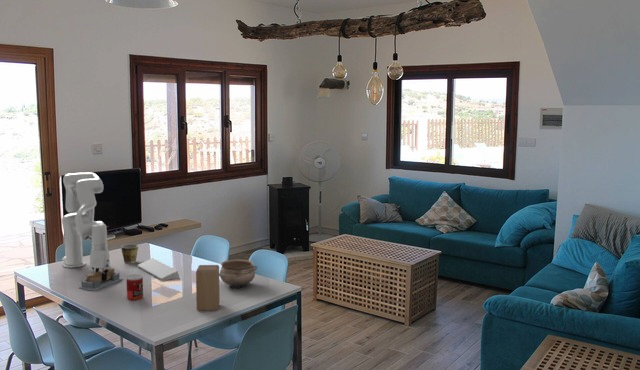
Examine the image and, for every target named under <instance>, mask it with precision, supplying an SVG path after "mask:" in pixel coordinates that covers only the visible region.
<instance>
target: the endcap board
mask: <svg viewBox="0 0 640 370" xmlns="http://www.w3.org/2000/svg"><path fill="white" fill-rule="evenodd" d="M122 280H123V278H122V277H120V272H115V271H114V275H112V278H111V279H109V280H106V281H103V282H101V283H100V280H98V281H95V282H88V281H87V278H86V279H85V278H84V280H81V285H79V287H78V288H79V289H82V290H88V291H97V290H100V289H101V288H104V287H107V286H110V285H112V284H115V283H117V282H120V281H122Z"/></svg>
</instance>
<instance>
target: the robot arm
mask: <svg viewBox="0 0 640 370" xmlns="http://www.w3.org/2000/svg"><path fill="white" fill-rule="evenodd" d="M62 182H63V186H64V188H65V210H66V212H67V214H65V215H63V216H62V219H61V223H62V228H63V234H64V252H65V253H64V255H65V256H63V258H61V261H62V262H63V261H64V263H62V267H63V268H67V269H69V268H80V267H83V266H85V265H86V264H87V263H86V261H85V260H83V259H84V258H83V253H84V252H83V237H91V245H90V246H91V250H90V253H89V254H90V255H89V267H90V268H91V269H92V270H93V273H95V272H98V271H100V270H102V273H103V274H102V281H105V280H107V273H108V271H109V270H110V269H111V268H112V266H111V259H110V252H109V249H108V232H107V231H108V230H107V224H105V223H104V222H103V221H102V220H97V221H96V220H95V207H97V200H96V195H95V194H101V193H103V192H104V184H103V183H104V182H103V181H102V179H101V178H100V177H99V176H98V175H97V174H96V173H94V172H75V173H73V172H71V173H66V174H64V176H63V179H62ZM104 269H105V271H104Z"/></svg>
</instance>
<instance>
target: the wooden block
mask: <svg viewBox="0 0 640 370" xmlns="http://www.w3.org/2000/svg"><path fill="white" fill-rule="evenodd" d="M219 274H220V266H219V265H218V264H199V265H198V267H197V269H196V271H195V284H196V285H195V288H196V289H195V292H196V298H195V299H196V300H195V301H196V311H199V312H201V311H202V312H203V311H205V312H206V311H207V312H208V311H210V312H211V311H214V312H215V311H218V309H219V307H220V276H219Z"/></svg>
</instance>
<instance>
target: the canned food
mask: <svg viewBox="0 0 640 370" xmlns="http://www.w3.org/2000/svg"><path fill="white" fill-rule="evenodd" d="M143 279H144V278H143V275H141V274H130V275H128V276H126V298H127V300H128V301H139V300H141V299H143V297H144V283H143V282H144V281H143Z"/></svg>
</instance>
